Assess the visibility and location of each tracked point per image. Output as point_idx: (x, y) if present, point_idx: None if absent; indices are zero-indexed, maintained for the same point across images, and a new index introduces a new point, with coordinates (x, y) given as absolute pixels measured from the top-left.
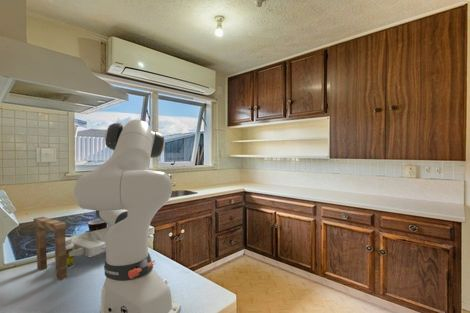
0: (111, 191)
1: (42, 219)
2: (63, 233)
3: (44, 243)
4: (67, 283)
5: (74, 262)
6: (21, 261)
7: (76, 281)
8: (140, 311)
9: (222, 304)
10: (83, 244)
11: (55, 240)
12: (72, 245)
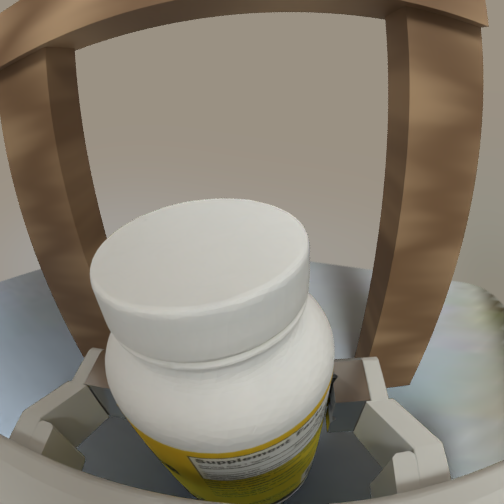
0: None
1: None
2: (5, 92)
3: (395, 211)
4: (57, 347)
5: (194, 495)
6: None
7: (31, 366)
8: None
9: None
10: (27, 482)
11: (73, 125)
12: (110, 374)
